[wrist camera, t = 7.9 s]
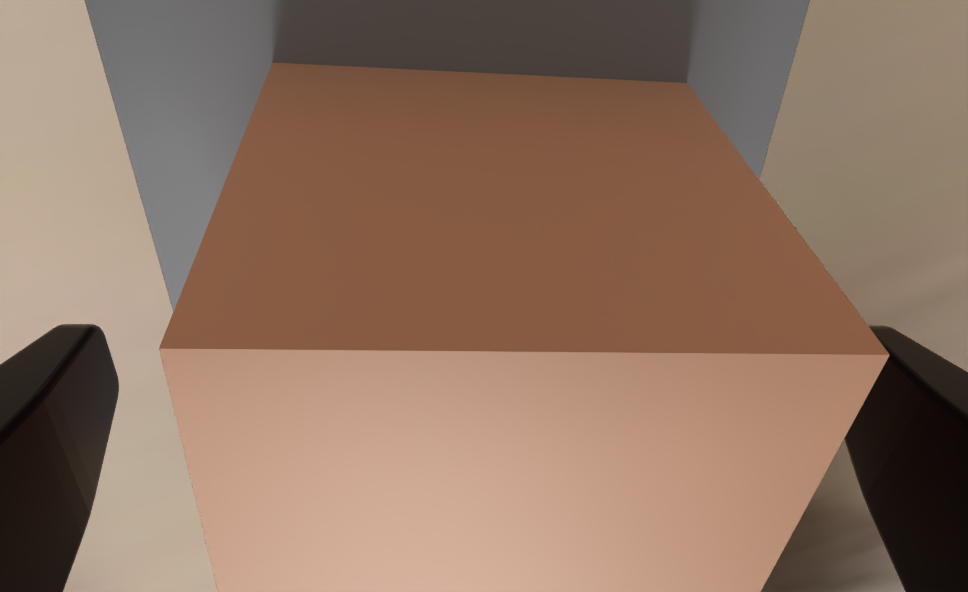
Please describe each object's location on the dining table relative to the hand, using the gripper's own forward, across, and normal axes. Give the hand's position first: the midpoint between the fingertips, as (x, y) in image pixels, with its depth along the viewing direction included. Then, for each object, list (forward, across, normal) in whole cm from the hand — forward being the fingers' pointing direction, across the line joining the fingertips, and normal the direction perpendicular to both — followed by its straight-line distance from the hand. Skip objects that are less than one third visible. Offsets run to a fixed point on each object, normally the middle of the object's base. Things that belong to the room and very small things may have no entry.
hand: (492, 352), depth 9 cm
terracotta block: (+3, 0, 0) cm, 3 cm away
